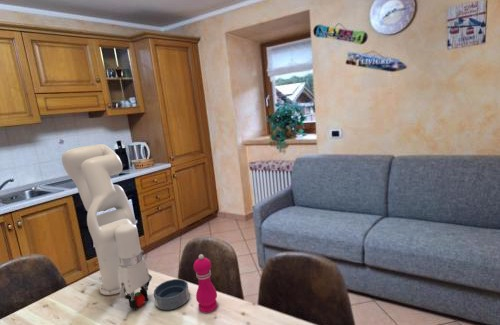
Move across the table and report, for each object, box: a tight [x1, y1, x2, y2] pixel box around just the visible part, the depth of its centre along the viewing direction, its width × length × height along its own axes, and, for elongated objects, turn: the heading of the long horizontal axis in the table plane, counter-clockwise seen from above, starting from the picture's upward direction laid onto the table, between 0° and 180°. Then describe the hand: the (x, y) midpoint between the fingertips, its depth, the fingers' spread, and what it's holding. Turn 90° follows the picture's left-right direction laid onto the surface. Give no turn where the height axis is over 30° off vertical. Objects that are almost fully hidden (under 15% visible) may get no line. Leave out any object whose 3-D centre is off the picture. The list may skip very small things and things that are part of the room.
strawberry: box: [134, 291, 146, 307], centre depth 116 cm, size 4×4×5 cm
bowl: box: [153, 278, 190, 311], centre depth 116 cm, size 12×12×5 cm
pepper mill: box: [193, 253, 218, 314], centre depth 109 cm, size 7×7×20 cm
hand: (139, 303), depth 116 cm, fingers closed on strawberry, 4 cm apart
